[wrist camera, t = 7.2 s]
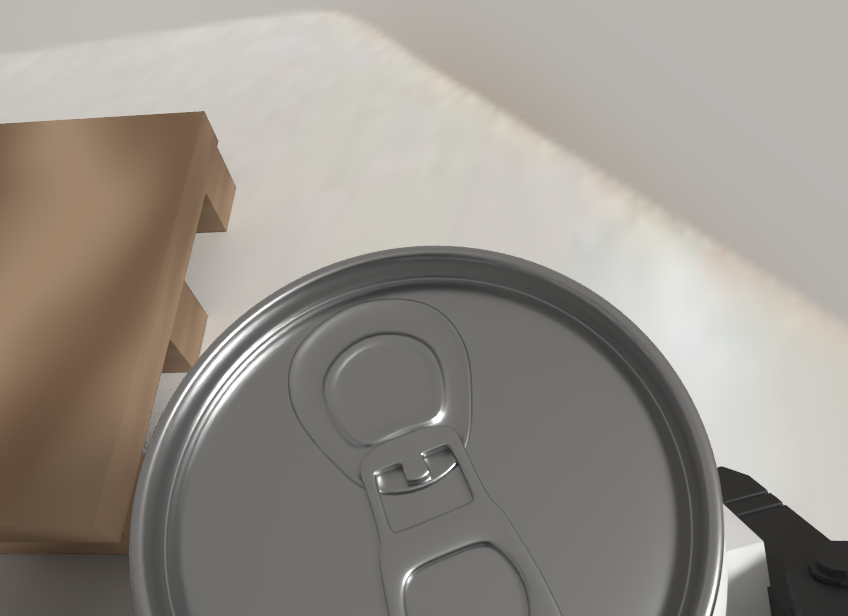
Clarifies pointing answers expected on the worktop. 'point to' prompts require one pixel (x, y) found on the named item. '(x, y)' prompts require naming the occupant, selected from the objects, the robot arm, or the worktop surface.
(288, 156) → the worktop surface
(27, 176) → the platform
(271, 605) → the can
